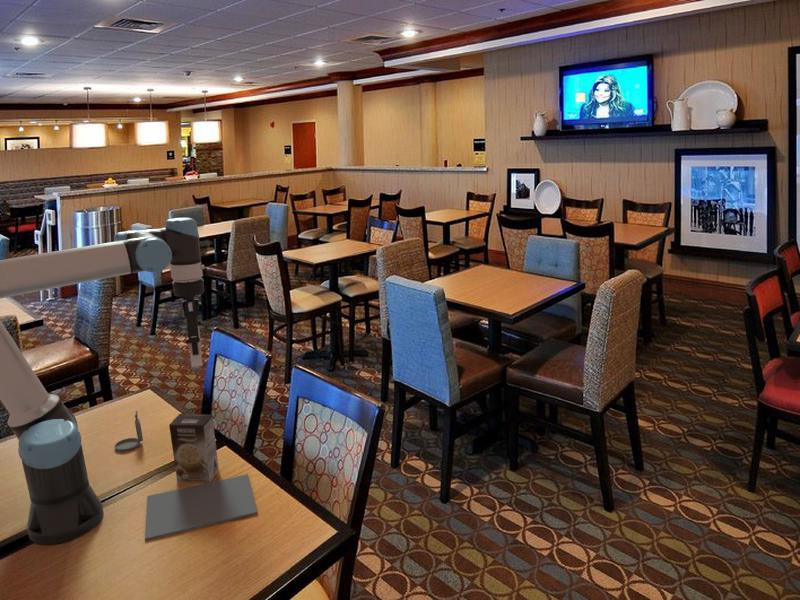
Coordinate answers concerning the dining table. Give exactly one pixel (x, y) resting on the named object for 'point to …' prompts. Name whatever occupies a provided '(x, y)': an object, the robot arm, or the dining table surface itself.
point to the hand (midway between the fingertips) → (196, 357)
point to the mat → (199, 506)
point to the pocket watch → (131, 439)
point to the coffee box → (194, 447)
